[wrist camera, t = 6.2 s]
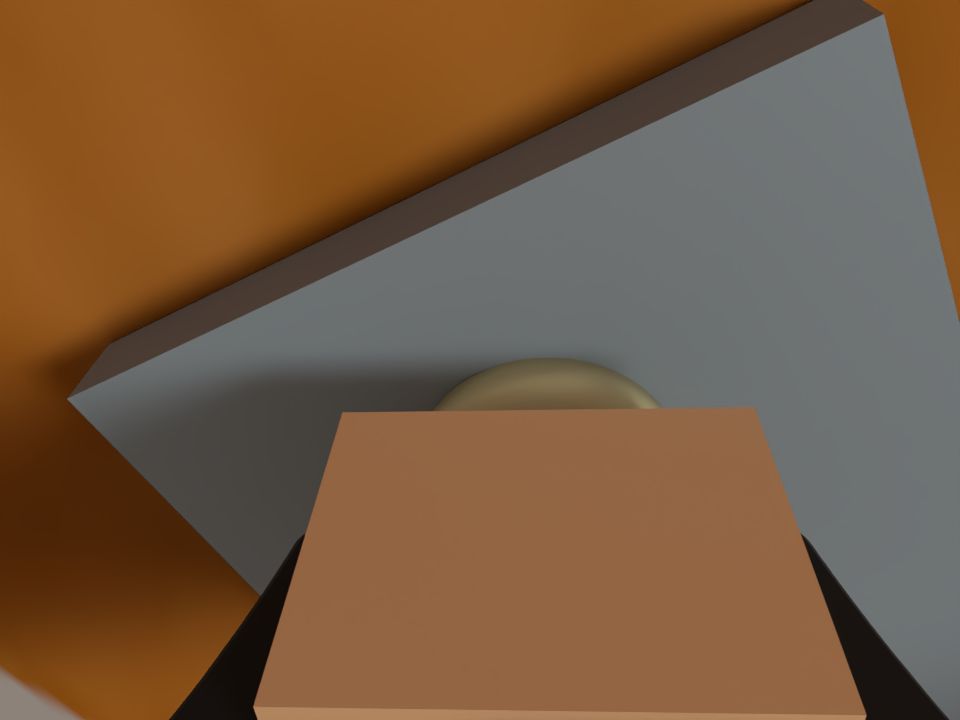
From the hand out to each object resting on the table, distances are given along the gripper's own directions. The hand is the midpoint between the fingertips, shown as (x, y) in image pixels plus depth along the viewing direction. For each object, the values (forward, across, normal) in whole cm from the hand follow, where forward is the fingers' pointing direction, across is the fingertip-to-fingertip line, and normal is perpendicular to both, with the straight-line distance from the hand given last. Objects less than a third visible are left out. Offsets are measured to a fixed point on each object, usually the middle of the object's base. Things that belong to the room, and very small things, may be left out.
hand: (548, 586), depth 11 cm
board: (+4, -2, +4) cm, 6 cm away
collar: (+1, 0, 0) cm, 1 cm away
